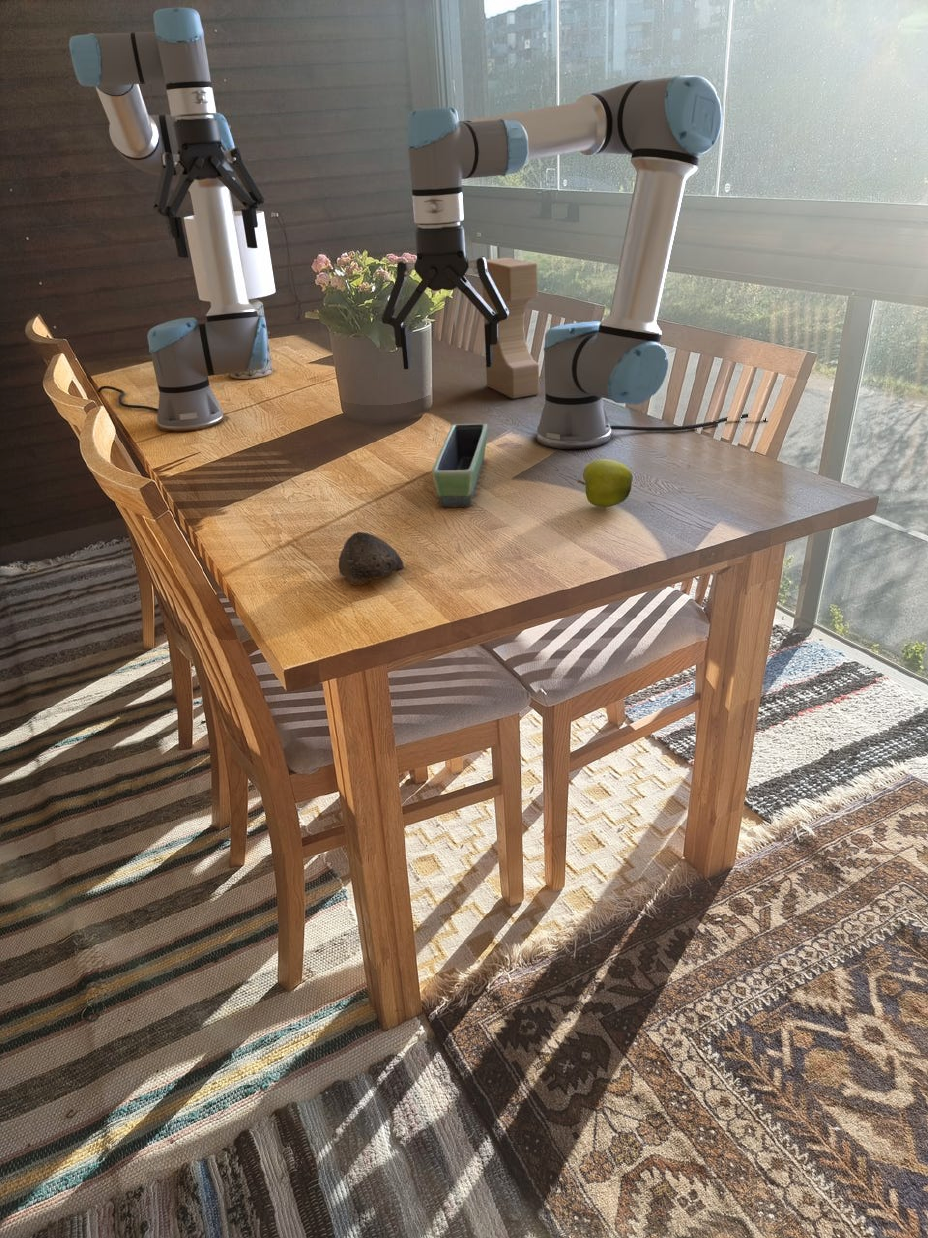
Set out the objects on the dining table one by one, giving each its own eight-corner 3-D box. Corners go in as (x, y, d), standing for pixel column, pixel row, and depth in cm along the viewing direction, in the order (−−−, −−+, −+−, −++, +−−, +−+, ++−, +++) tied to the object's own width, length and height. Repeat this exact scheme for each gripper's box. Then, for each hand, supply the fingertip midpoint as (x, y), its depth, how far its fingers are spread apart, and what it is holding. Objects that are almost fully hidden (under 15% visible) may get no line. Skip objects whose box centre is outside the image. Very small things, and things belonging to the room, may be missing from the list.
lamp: (301, 366, 256) (278, 209, 236) (258, 384, 240) (230, 217, 220) (244, 363, 264) (217, 211, 244) (199, 380, 248) (166, 219, 228)
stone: (370, 582, 138) (319, 551, 133) (405, 543, 136) (354, 511, 130) (380, 619, 131) (327, 588, 125) (417, 579, 128) (364, 545, 123)
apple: (575, 498, 154) (576, 454, 151) (628, 496, 154) (629, 451, 150) (579, 515, 148) (579, 469, 144) (634, 513, 147) (636, 467, 143)
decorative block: (540, 394, 215) (538, 263, 201) (512, 399, 213) (508, 266, 198) (512, 381, 227) (509, 256, 213) (486, 386, 225) (480, 260, 210)
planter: (454, 458, 177) (451, 423, 174) (489, 458, 176) (488, 422, 173) (433, 511, 154) (430, 471, 150) (474, 510, 153) (472, 470, 149)
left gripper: (131, 120, 141) (160, 262, 151) (270, 113, 154) (289, 244, 164) (114, 122, 146) (144, 259, 156) (251, 116, 159) (270, 242, 170)
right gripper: (353, 231, 133) (369, 373, 143) (518, 223, 129) (522, 369, 139) (365, 226, 139) (379, 362, 150) (522, 218, 136) (526, 358, 146)
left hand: (218, 252), depth 160 cm, fingers open, 13 cm apart
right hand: (448, 366), depth 145 cm, fingers open, 13 cm apart
